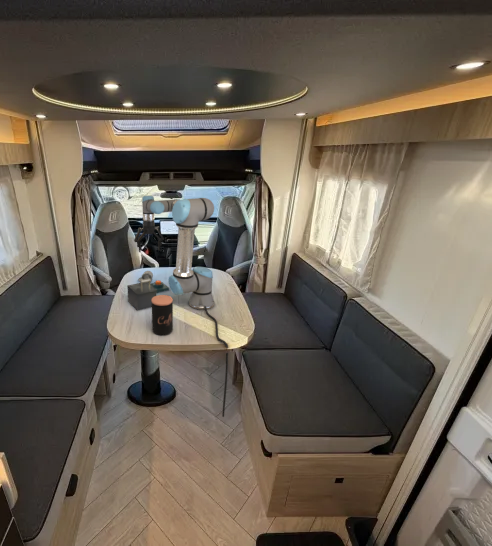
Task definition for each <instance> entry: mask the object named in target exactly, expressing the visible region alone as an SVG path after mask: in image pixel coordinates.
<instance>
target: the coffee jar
mask: <svg viewBox="0 0 492 546" xmlns="http://www.w3.org/2000/svg"><path fill="white" fill-rule="evenodd" d="M173 304H174V303H173V297H172V296H170V295H167V294H158V295H157V296H155V297H153V298H152V307H151V330H152V332H153V334H155V335H157V336H161V337H162V336H167V335H170V334H171V333H172V332H173V330H174V324H173V323H174V321H173V320H174V305H173Z"/></svg>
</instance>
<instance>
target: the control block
mask: <svg viewBox="0 0 492 546" xmlns="http://www.w3.org/2000/svg"><path fill="white" fill-rule="evenodd" d="M150 285H151V286H152V287H153V288H155V289H156V290H157V292H156V294H159V293H163V292H167V291H170V286H169V285H166V284H165V283H164V282H162V281H161V284H159V285H157V284H156V281H154V282H152V283H151V282H150Z"/></svg>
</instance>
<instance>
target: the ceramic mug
mask: <svg viewBox="0 0 492 546" xmlns="http://www.w3.org/2000/svg"><path fill="white" fill-rule="evenodd" d="M148 278H150V279H151V281H150V283H151V282H152V281H153V278H154V274H153V272H152V271H151V270H145V271H144V272H143V274H142V275H141V276H140V277H138V279H137V281H138V283H140V280H143V279H148ZM147 283H148V284H149V282H147Z"/></svg>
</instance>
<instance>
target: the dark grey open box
mask: <svg viewBox="0 0 492 546" xmlns="http://www.w3.org/2000/svg"><path fill="white" fill-rule="evenodd" d="M126 288H127V302H128V303H130V304H129V305H131V306H132V307H133V308H134V309H135V310H136V311H142V310H147V309H150V308H152V298H153V297H155V296H158V295H157V294H158V293H156V292H153V293H149V294H144V295H140V296H137V295H136V294H135V293H134V292H133V291H132V290H130V289H129V288H128V287H127V286H126Z"/></svg>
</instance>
